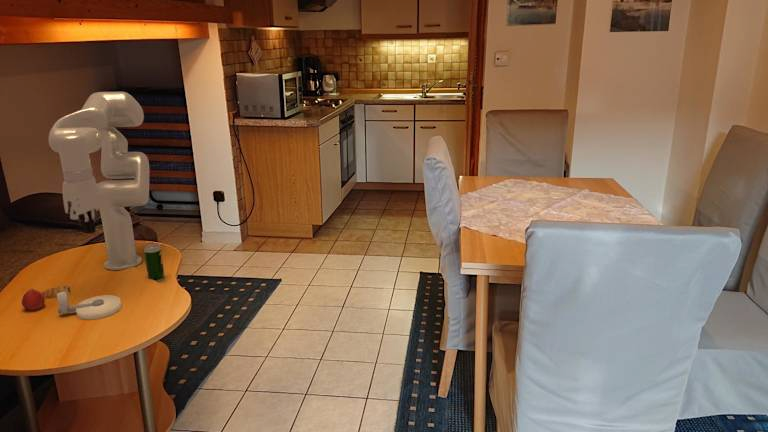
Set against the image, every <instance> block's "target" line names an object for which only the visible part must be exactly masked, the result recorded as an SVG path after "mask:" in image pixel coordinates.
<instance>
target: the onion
mask: <svg viewBox="0 0 768 432" xmlns="http://www.w3.org/2000/svg"><path fill="white" fill-rule="evenodd" d="M45 300H46V299H45V298H44V296H43V294H42V293H41V291H39V290H36V289H34V287H30V288H29V289H28V290H27V291H26V292H25V293H24V294H23V296H22V299H21V306H22V307H23V308H24V309H25V310H27V311H30V312H31V311H37V310H39V309H41V308H42V307H43V306H44V305H45Z"/></svg>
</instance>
